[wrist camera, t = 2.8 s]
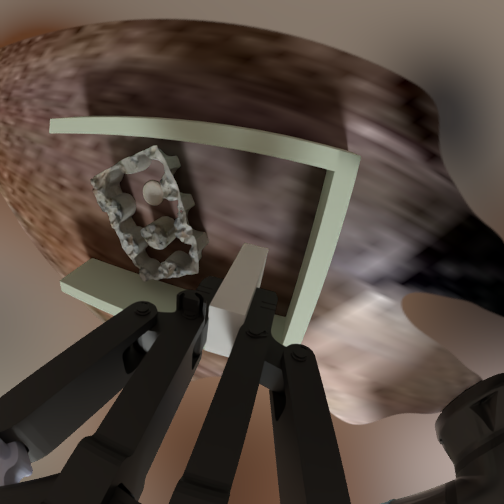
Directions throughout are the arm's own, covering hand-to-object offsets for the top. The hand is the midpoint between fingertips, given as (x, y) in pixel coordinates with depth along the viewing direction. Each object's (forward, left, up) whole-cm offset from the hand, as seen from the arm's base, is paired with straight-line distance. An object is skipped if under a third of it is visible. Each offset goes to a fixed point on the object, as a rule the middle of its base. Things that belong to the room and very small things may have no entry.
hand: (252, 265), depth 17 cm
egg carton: (+9, 0, -6) cm, 11 cm away
